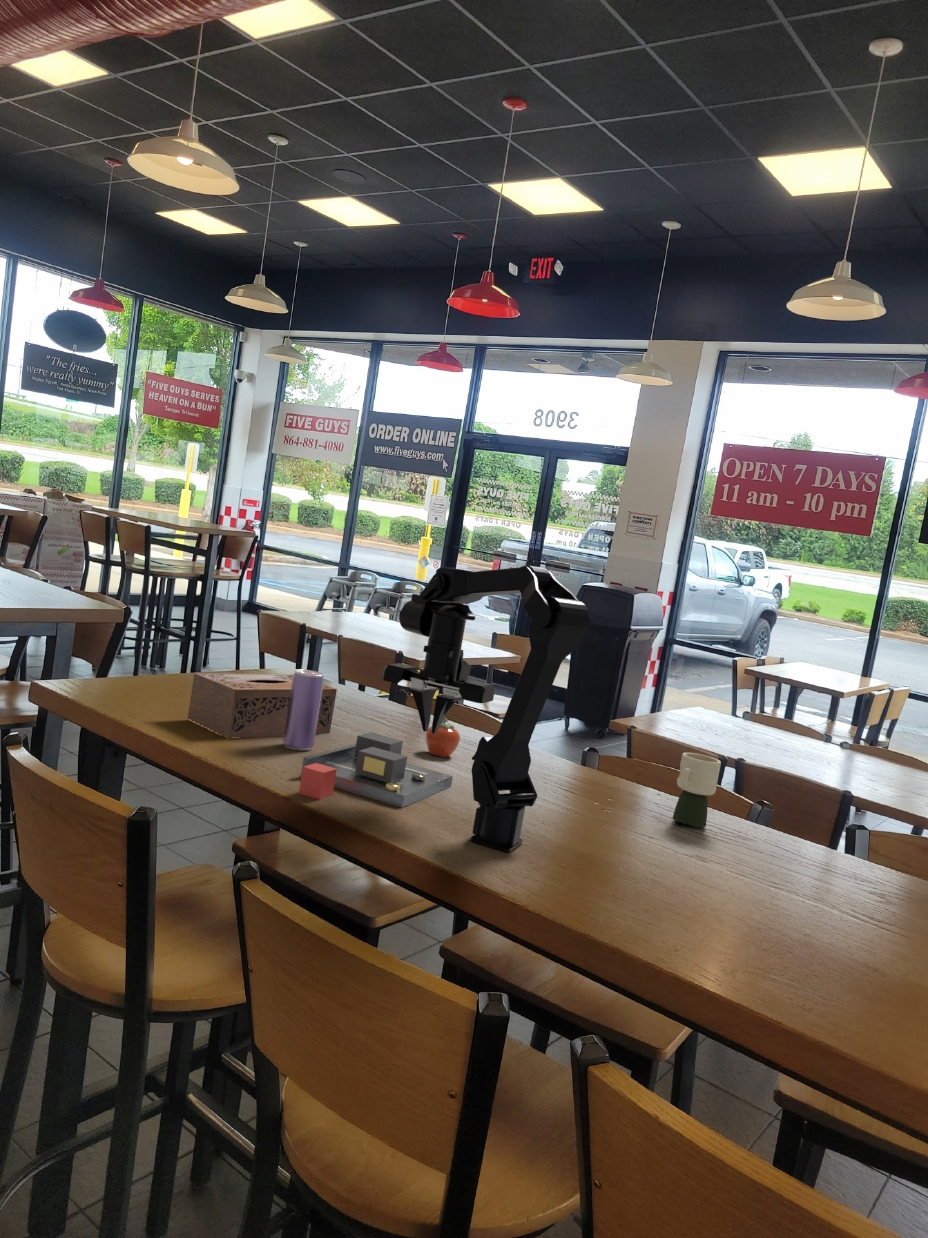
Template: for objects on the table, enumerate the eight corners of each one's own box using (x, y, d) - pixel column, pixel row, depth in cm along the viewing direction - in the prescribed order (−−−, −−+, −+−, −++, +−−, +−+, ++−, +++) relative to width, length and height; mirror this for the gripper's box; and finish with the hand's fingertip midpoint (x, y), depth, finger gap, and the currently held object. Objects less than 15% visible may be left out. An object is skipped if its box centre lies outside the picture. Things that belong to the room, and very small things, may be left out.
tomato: (450, 751, 194) (456, 715, 193) (461, 761, 187) (467, 724, 186) (418, 748, 191) (424, 712, 191) (427, 758, 184) (434, 720, 184)
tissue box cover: (288, 718, 201) (295, 674, 200) (329, 734, 191) (336, 689, 191) (186, 721, 181) (194, 673, 181) (227, 740, 172) (234, 689, 171)
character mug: (685, 815, 174) (698, 750, 173) (719, 827, 169) (732, 761, 168) (657, 822, 165) (670, 753, 164) (692, 834, 161) (705, 764, 160)
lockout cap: (332, 795, 147) (336, 769, 147) (319, 800, 144) (323, 772, 143) (312, 789, 149) (316, 763, 148) (298, 793, 145) (303, 766, 145)
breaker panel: (450, 786, 165) (454, 768, 165) (402, 807, 147) (405, 787, 147) (357, 760, 173) (360, 742, 173) (300, 777, 154) (303, 757, 154)
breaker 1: (399, 761, 168) (402, 741, 167) (387, 765, 163) (390, 744, 163) (367, 752, 170) (370, 732, 170) (354, 756, 166) (357, 735, 165)
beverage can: (306, 753, 171) (318, 677, 170) (277, 747, 172) (289, 671, 171) (317, 747, 177) (329, 673, 176) (289, 741, 178) (300, 668, 177)
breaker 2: (403, 778, 156) (407, 756, 156) (389, 783, 151) (393, 760, 151) (368, 768, 159) (372, 746, 159) (354, 773, 154) (358, 750, 154)
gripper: (512, 651, 154) (497, 739, 155) (416, 631, 161) (402, 715, 162) (489, 653, 144) (472, 748, 145) (388, 632, 151) (373, 721, 152)
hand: (429, 732), depth 151 cm, fingers closed
